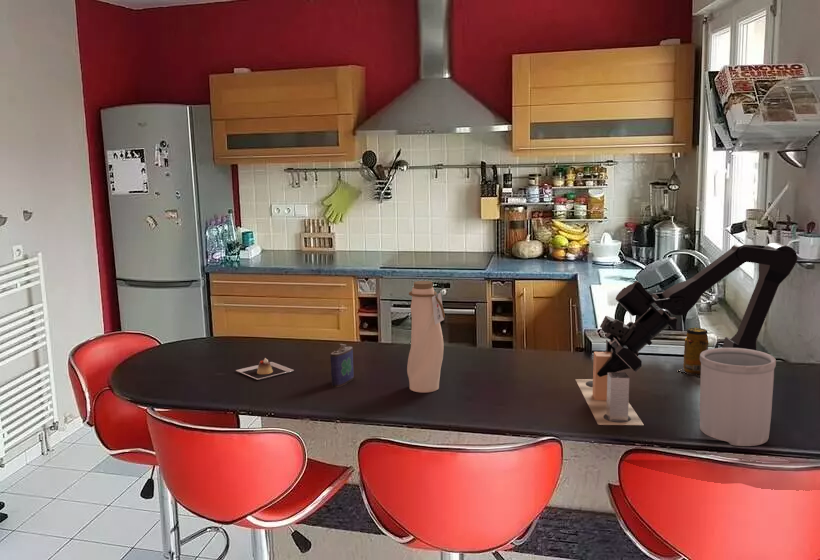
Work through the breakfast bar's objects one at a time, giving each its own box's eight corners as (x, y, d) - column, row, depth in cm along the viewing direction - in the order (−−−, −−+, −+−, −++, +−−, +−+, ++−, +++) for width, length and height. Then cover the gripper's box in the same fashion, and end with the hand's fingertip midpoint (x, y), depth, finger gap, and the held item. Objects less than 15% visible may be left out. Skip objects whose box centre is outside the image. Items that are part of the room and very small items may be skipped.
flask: (348, 377, 205) (346, 339, 203) (357, 378, 204) (356, 340, 202) (329, 386, 197) (327, 347, 195) (338, 388, 196) (337, 348, 194)
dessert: (235, 374, 211) (234, 357, 210) (272, 365, 219) (271, 349, 218) (257, 383, 202) (256, 366, 202) (294, 373, 210) (293, 357, 210)
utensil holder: (683, 435, 161) (687, 356, 158) (713, 417, 171) (717, 343, 168) (753, 454, 150) (759, 370, 147) (781, 433, 161) (787, 355, 158)
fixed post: (627, 420, 167) (629, 378, 165) (609, 420, 167) (611, 377, 166) (623, 414, 171) (625, 372, 169) (606, 414, 171) (607, 372, 170)
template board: (644, 428, 165) (644, 424, 165) (598, 428, 165) (598, 424, 165) (613, 382, 197) (613, 379, 197) (575, 382, 198) (575, 379, 198)
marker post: (609, 394, 185) (610, 351, 183) (611, 400, 181) (613, 356, 179) (592, 394, 185) (593, 351, 183) (594, 399, 181) (596, 356, 179)
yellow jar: (690, 366, 210) (692, 325, 208) (719, 373, 204) (721, 330, 202) (676, 371, 206) (678, 329, 204) (705, 378, 199) (707, 335, 197)
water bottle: (449, 384, 198) (449, 280, 193) (442, 394, 189) (441, 286, 184) (412, 381, 200) (411, 278, 195) (403, 391, 192) (401, 284, 187)
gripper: (615, 298, 188) (569, 340, 191) (629, 314, 169) (578, 360, 173) (645, 328, 188) (600, 370, 191) (663, 348, 170) (612, 393, 173)
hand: (597, 372), depth 182 cm, fingers closed on marker post, 4 cm apart
